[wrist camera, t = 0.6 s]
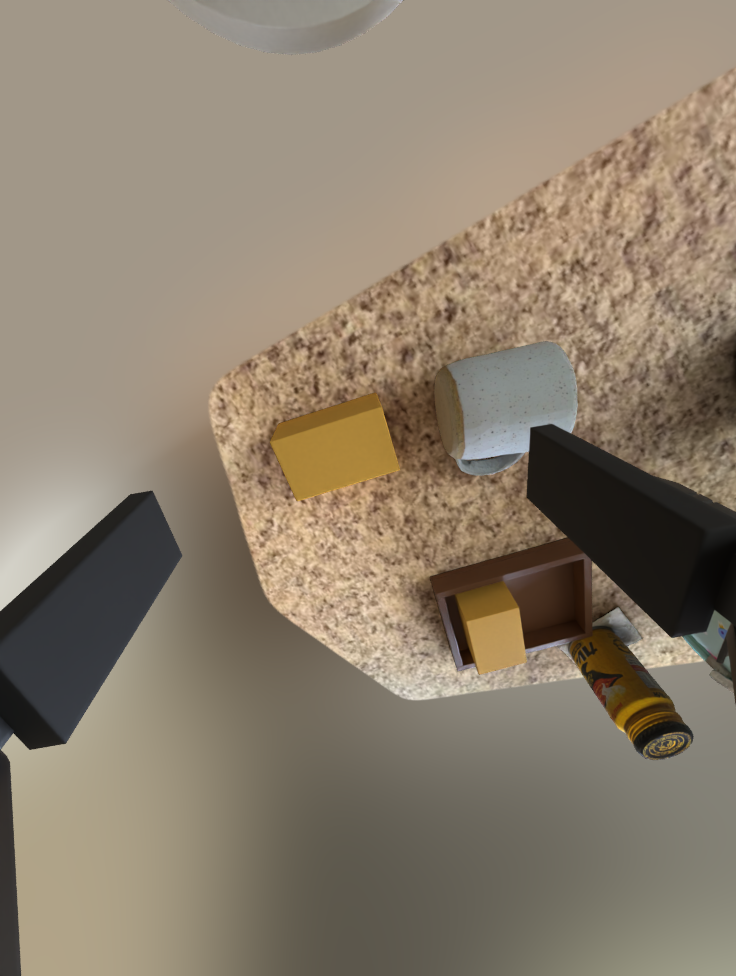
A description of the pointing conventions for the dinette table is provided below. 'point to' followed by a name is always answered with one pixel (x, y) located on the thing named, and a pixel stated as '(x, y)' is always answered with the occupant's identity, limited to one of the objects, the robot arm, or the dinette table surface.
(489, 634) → the pad seated
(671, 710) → the condiment
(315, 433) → the pad loose
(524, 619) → the frame
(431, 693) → the dinette table surface
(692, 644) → the lunch box
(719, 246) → the dinette table surface
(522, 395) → the ceramic mug
